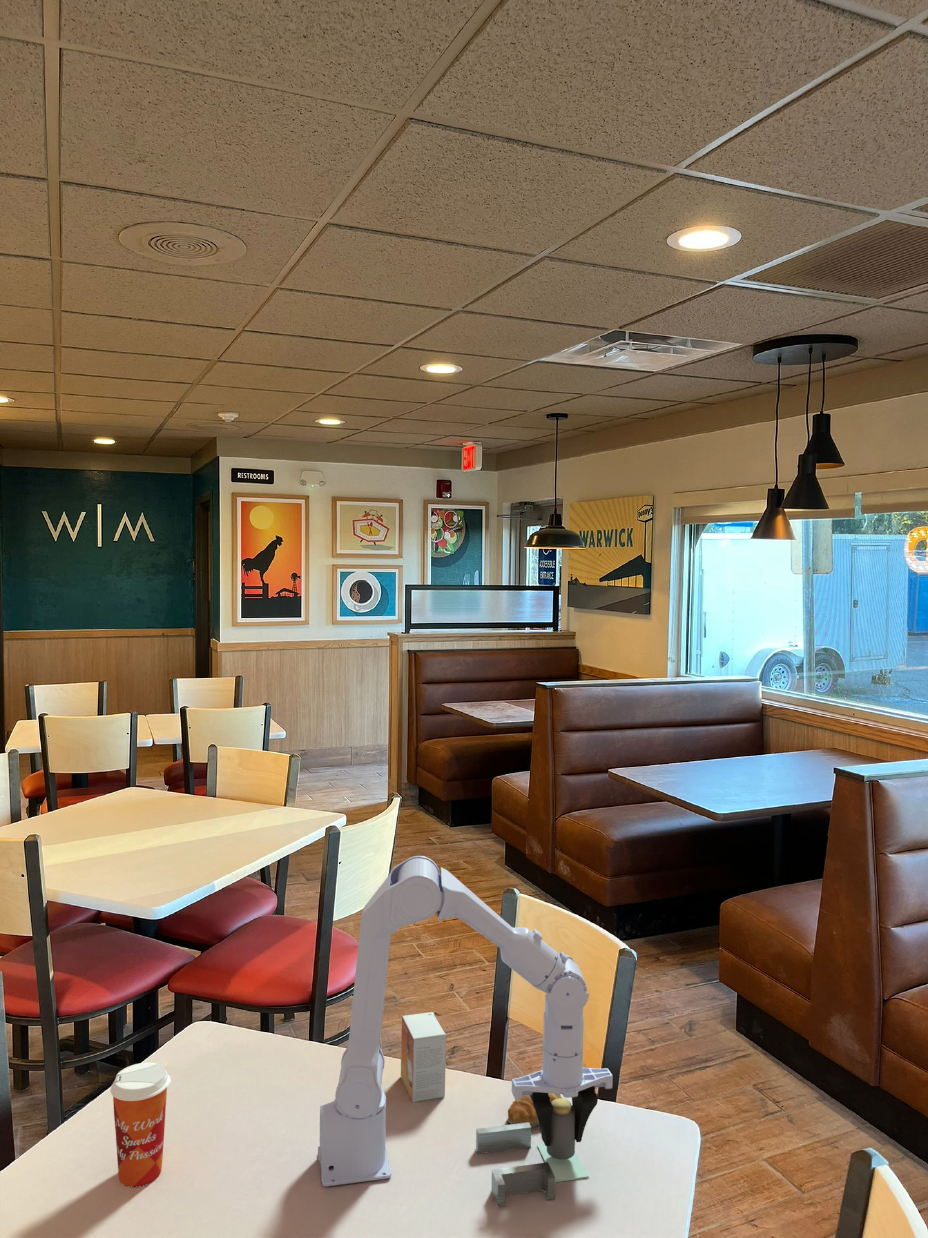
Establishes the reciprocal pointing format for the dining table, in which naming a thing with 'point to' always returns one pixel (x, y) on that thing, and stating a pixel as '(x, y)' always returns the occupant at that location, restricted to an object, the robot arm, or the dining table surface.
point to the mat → (564, 1166)
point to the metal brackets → (519, 1176)
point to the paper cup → (140, 1122)
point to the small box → (423, 1056)
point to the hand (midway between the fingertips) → (561, 1140)
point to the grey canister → (562, 1130)
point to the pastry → (526, 1110)
